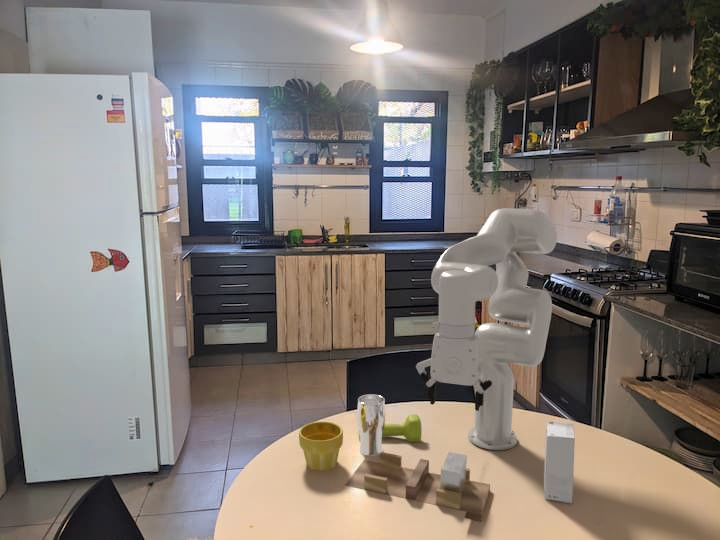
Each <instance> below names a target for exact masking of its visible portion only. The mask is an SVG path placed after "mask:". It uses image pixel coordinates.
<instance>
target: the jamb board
mask: <svg viewBox="0 0 720 540" xmlns="http://www.w3.org/2000/svg"><path fill="white" fill-rule="evenodd" d="M402 461H403V460H402V455H400V454H399V455H398V454H394V453H393V454H392V453H388V452H383V451H382V452H381V453H380V455H379V462H378V461H377V462H376V461H374V460H373V461H372V460H366V459H363V461H362V462H361V463H360V464H359V466H358V467H357V469H356V470H355V471H354V472H353V474H352V475H351V476H350V478H349V479H348V480H347V481H346V482H345V484H344V486H347V487H351V488H354V489H360V490H364V491H369V492H374V493H379V494H384V495H388V496H392V497H398V498H401V499H406V500H410V501H415V502H420V503H425V504H430V505H434V506H439V507H444V508H449V509H452V510H458V511H463V512H465V514H464V519H469V520H472V521H473V520H474V521H478V522H482V520H483V516H484V512H485V509H486V506H487V503H488V500H489V498H488V497H489V495H490V492H491V491H490V490H491V484H490V483H484V482H479V481H474V480H471V476H470V475H471V468H468V467H466V485H465V488H464V491H463V494H462V496H461V493H457V492H452V491H447V490H442V489H440V483H441V474H437V473H434V472H429V471H430V470H429V469H430V461H429V460H428V459H423V458H420V459H419V460H418V463H417V464H416V466H415V468H414V469H412V468H408V467H402Z"/></svg>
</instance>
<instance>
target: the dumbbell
mask: <svg viewBox="0 0 720 540" xmlns="http://www.w3.org/2000/svg"><path fill="white" fill-rule="evenodd" d="M422 430H423V429H422V421H421V417H420V416H419V415H418V414H409V415H408V416H407V417H406V419H405V421H403V423H385V426H384V431H383V436H382V437H400V436H401V437H402V436H403V437H404V438H405V439H406V440H407V442H410V443H420V442H421V441H422V435H423V434H422ZM358 440H359V441H360V434H359V433H358Z"/></svg>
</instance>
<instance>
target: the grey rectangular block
mask: <svg viewBox="0 0 720 540" xmlns="http://www.w3.org/2000/svg"><path fill="white" fill-rule="evenodd" d="M466 468H467V454H461V453H456V452H451V451H448V453H447V455H446V457H445V460H444V461H443V464H442V466H441V469H440V475H441V483H440V489H442V490H447V491H452V492H457V493H461V496H462V494H463V491H464V488H465V485H466Z"/></svg>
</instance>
